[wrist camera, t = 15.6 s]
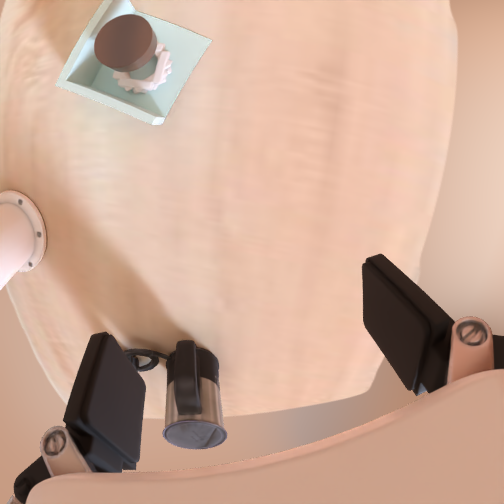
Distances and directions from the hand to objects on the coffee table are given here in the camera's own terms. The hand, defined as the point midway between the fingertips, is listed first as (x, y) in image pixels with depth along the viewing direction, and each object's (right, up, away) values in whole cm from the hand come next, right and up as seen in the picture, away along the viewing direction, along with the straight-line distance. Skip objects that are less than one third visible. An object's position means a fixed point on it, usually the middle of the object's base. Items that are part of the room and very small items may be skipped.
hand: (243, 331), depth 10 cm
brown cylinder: (-11, +22, +11) cm, 27 cm away
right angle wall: (-13, +25, +18) cm, 33 cm away
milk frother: (-14, -16, +37) cm, 43 cm away
